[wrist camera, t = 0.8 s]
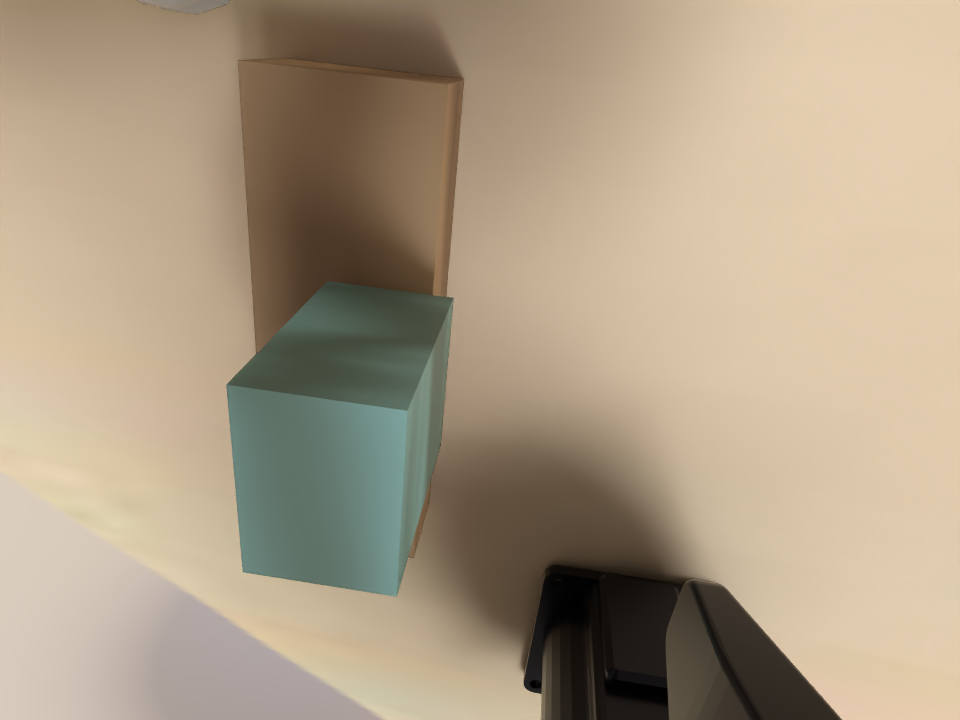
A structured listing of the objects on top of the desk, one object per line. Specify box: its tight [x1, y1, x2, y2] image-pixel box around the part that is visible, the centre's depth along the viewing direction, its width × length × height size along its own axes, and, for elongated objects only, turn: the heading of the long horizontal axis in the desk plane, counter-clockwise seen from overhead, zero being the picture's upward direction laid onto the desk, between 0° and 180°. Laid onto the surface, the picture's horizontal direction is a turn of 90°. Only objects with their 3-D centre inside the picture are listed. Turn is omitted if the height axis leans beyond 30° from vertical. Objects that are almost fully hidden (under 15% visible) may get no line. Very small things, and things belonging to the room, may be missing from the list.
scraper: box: [227, 58, 464, 597], centre depth 16 cm, size 5×14×9 cm, turn 174°
